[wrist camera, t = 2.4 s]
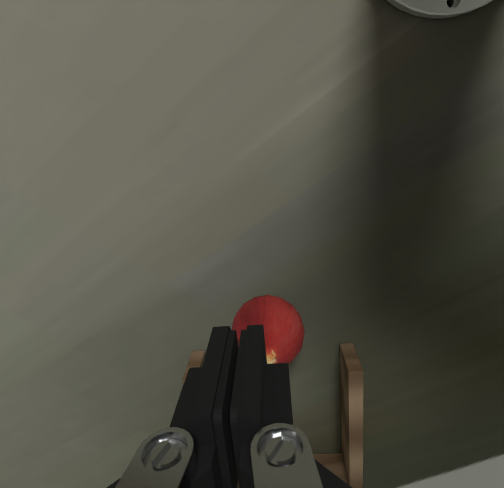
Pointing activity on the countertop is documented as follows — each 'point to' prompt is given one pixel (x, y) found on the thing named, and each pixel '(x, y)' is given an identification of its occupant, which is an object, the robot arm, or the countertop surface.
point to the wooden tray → (351, 385)
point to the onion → (273, 326)
